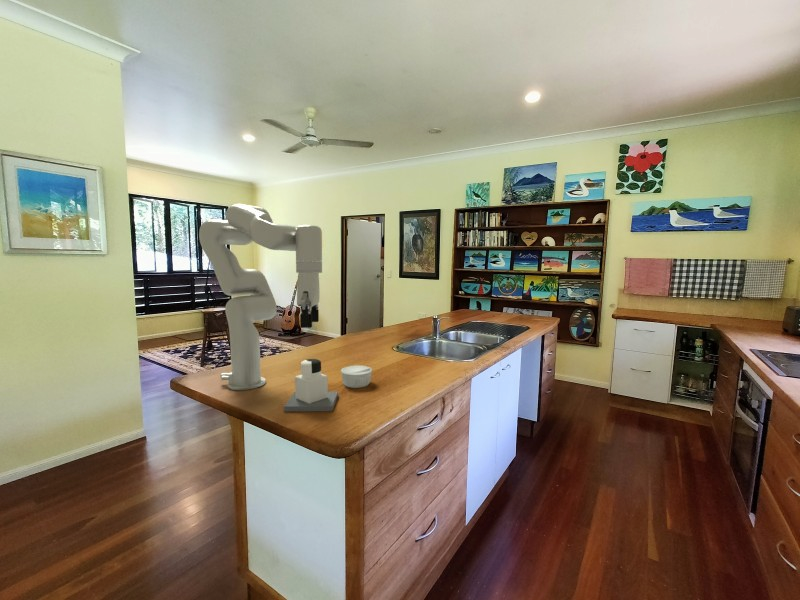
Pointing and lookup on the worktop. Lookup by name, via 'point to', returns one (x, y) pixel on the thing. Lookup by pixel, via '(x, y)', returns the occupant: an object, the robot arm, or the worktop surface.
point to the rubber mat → (319, 405)
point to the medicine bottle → (311, 382)
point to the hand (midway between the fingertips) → (310, 324)
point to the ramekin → (356, 376)
